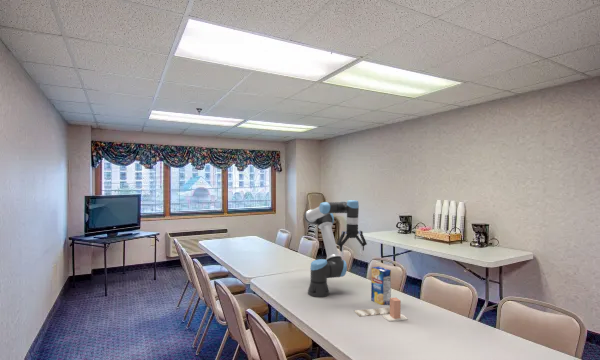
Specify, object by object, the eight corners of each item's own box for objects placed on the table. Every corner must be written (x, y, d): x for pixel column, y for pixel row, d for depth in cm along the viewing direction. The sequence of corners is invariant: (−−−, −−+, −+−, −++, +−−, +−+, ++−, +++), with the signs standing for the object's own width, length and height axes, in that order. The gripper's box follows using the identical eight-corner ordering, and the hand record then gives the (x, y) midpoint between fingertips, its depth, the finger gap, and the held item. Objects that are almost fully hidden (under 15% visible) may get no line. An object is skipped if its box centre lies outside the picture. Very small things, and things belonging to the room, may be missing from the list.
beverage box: (383, 305, 209) (383, 271, 209) (371, 300, 218) (371, 267, 219) (390, 303, 213) (391, 270, 213) (378, 298, 222) (378, 266, 222)
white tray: (366, 325, 179) (366, 322, 179) (353, 313, 196) (353, 310, 196) (409, 321, 185) (409, 318, 185) (392, 309, 202) (392, 306, 202)
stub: (388, 321, 182) (388, 302, 182) (382, 316, 189) (382, 297, 189) (407, 319, 185) (408, 300, 185) (400, 314, 192) (401, 296, 192)
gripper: (336, 224, 207) (335, 258, 207) (372, 224, 213) (371, 256, 213) (332, 223, 214) (331, 255, 214) (367, 222, 220) (366, 253, 220)
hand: (351, 255), depth 214 cm, fingers open, 13 cm apart
